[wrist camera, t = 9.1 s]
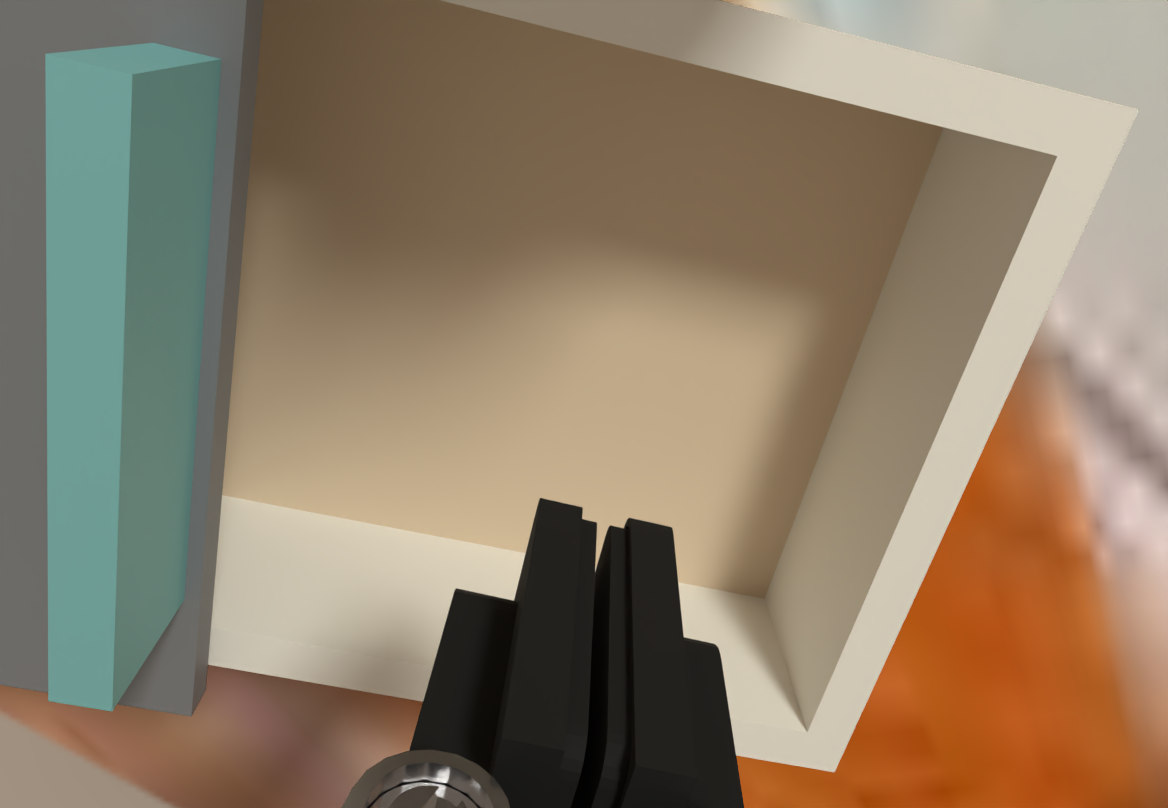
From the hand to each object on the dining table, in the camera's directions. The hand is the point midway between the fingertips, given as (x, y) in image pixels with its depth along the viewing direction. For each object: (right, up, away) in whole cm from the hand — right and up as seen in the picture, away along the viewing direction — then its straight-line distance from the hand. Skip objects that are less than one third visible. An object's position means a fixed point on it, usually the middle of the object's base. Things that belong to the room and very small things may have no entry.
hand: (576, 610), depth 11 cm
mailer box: (-2, +5, +11) cm, 13 cm away
